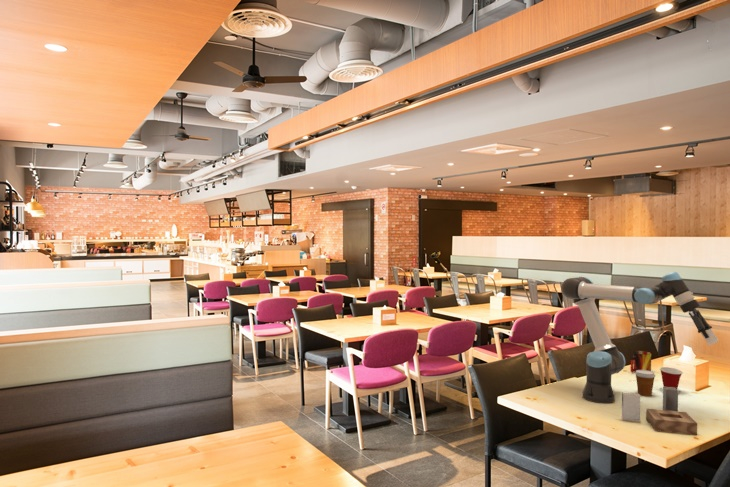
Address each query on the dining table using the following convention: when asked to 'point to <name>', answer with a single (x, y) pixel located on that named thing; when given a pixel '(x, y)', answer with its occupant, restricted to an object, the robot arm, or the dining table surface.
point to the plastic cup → (670, 376)
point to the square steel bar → (670, 399)
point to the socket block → (671, 421)
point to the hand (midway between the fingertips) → (714, 343)
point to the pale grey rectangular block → (630, 407)
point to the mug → (641, 361)
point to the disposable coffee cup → (645, 382)
